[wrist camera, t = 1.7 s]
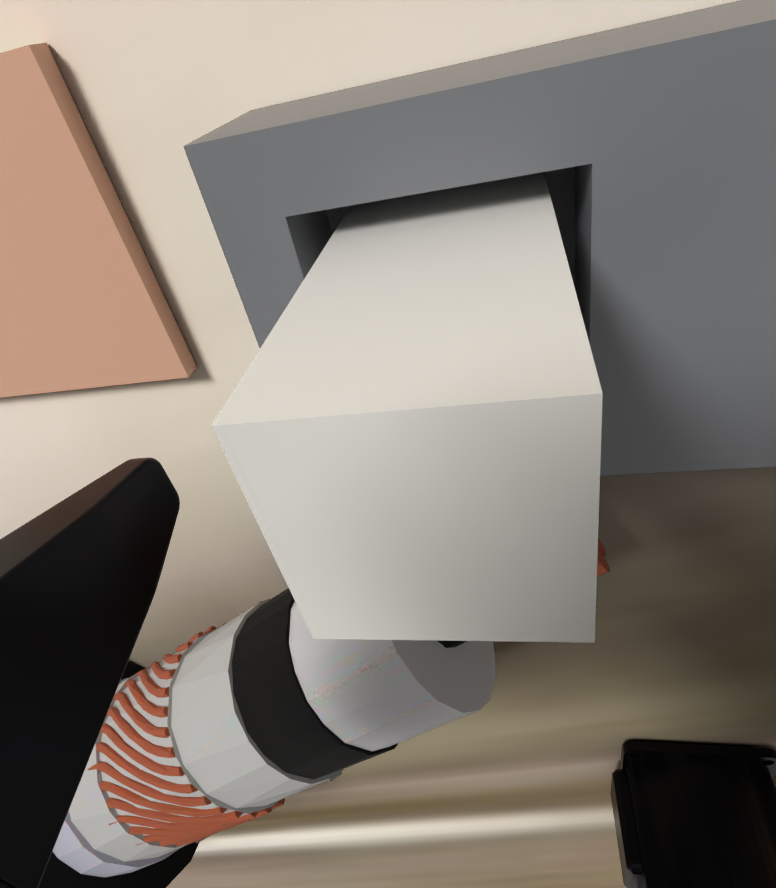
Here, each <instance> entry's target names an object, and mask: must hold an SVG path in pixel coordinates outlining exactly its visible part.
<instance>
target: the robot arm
mask: <svg viewBox="0 0 776 888" xmlns="http://www.w3.org/2000/svg"><path fill="white" fill-rule="evenodd" d="M179 505H180V502H179V496H178V493H177V491H176V490H175V488H174V486H173V484H172V483H171V481H170V479H169V477H168V476H167V474H166V472H165V470H164V469H163V467H162V465H161V464H160V462H158V461H157V460H156V459H154V458H138V459H130V460H128V461H126V462H124V463H123V464H121V465H119V466H118V467H116V468H115V469H113V470H111V471H110V472H108V473H106V474H105V475H103V476H102V477H100V478H98V479H97V480H95V481H94V482H92V483H90V484H89V485H87V486H86V487H84V488H82V489H81V490H79V491H77V492H76V493H74V494H73V495H71V496H69V497H68V498H66V499H65V500H63V501H61V502H60V503H58V504H57V505H55V506H53V507H52V508H50V509H49V510H47V511H45V512H44V513H42V514H40V515H39V516H37V517H36V518H34V519H32V520H31V521H29V522H28V523H26V524H24V525H23V526H21V527H20V528H18V529H16V530H15V531H13V532H11V533H10V534H8V535H7V536H5V537H3V538H2V539H0V888H38V886H39V884H40V881H41V879H42V876H43V874H44V871H45V869H46V866H47V864H48V861H49V859H50V856H51V854H52V851H53V849H54V846H55V844H56V841H57V839H58V836H59V834H60V831H61V829H62V826H63V823H64V821H65V818H66V816H67V813H68V811H69V808H70V806H71V803H72V801H73V798H74V796H75V793H76V791H77V788H78V786H79V783H80V781H81V778H82V776H83V773H84V771H85V768H86V766H87V763H88V761H89V758H90V756H91V753H92V751H93V748H94V746H95V743H96V741H97V738H98V735H99V733H100V730H101V728H102V725H103V723H104V720H105V718H106V715H107V713H108V710H109V708H110V705H111V703H112V700H113V698H114V695H115V693H116V690H117V688H118V685H119V683H120V680H121V678H122V675H123V673H124V670H125V668H126V665H127V663H128V660H129V658H130V655H131V652H132V650H133V647H134V645H135V642H136V640H137V637H138V635H139V632H140V630H141V627H142V625H143V622H144V620H145V617H146V615H147V612H148V610H149V607H150V605H151V602H152V599H153V597H154V594H155V591H156V588H157V585H158V582H159V578H160V575H161V571H162V568H163V564H164V561H165V557H166V554H167V550H168V547H169V543H170V540H171V536H172V533H173V529H174V526H175V522H176V519H177V515H178V512H179ZM775 774H776V751H775V750H773V749H769V748H753V747H733V746H714V745H694V744H674V743H655V742H635V741H632V742H626V743H624V744H623V745H622V752H621V762H620V769H616V770H615V771H614V772H613V773H612V783H611V799H612V806H613V813H614V820H615V827H616V834H617V841H618V848H619V855H620V861H621V868H622V875H623V882H624V885H625V886H626V887H627V888H776V788H775V785H774V782H773V778H774V776H775Z"/></svg>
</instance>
